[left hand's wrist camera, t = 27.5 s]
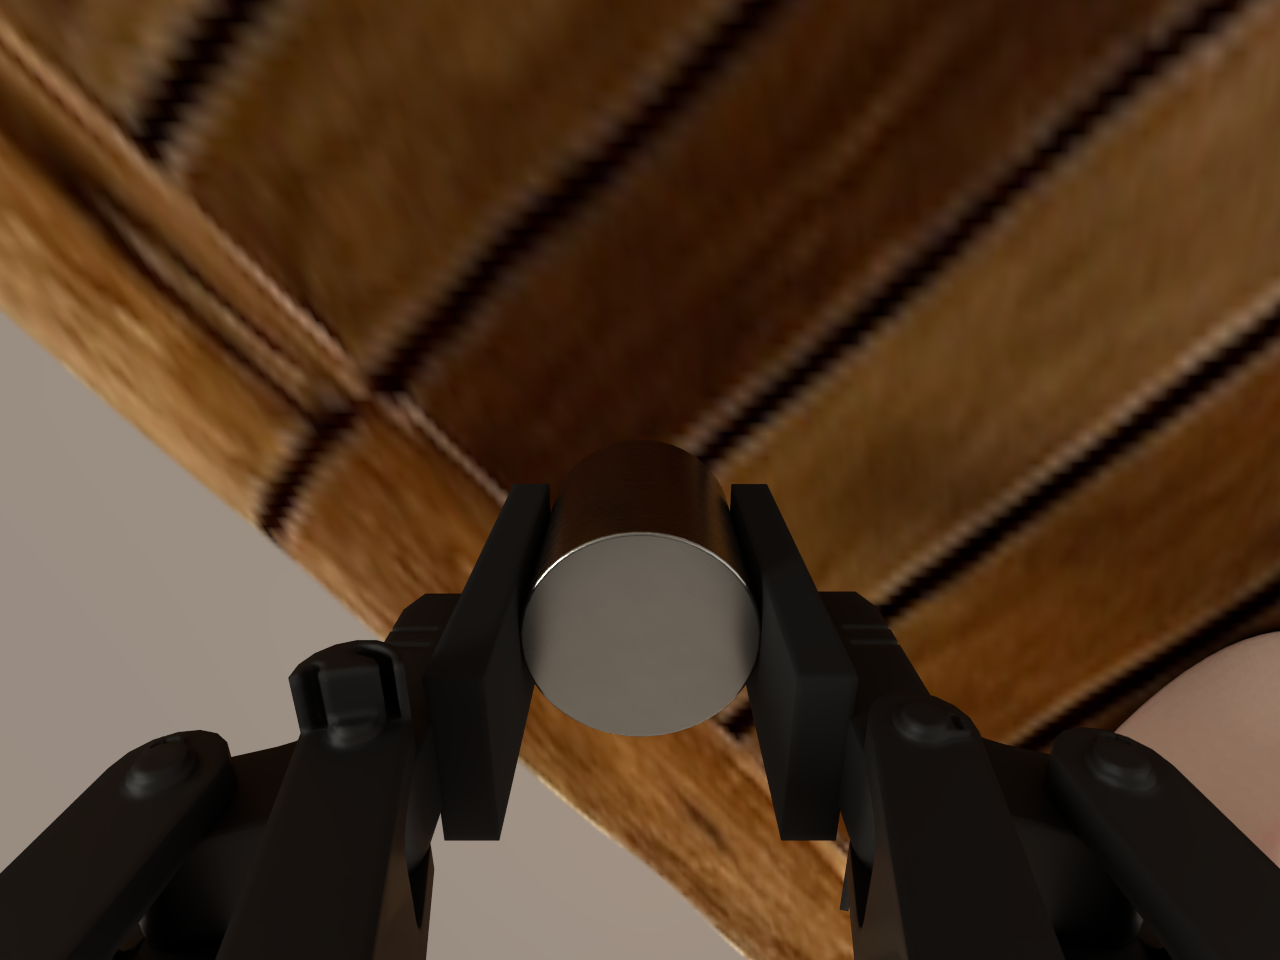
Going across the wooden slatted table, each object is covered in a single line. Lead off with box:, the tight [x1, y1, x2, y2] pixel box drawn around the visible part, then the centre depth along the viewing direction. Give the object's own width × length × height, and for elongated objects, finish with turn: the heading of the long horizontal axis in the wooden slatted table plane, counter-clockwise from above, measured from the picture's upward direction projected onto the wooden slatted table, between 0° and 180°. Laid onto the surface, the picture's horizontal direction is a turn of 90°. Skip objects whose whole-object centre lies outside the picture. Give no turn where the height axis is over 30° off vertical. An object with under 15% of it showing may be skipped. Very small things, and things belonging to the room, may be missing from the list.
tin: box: [519, 440, 761, 736], centre depth 13 cm, size 4×4×4 cm
